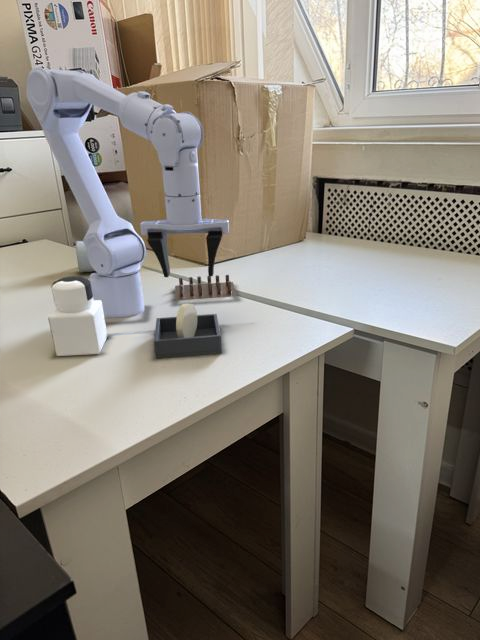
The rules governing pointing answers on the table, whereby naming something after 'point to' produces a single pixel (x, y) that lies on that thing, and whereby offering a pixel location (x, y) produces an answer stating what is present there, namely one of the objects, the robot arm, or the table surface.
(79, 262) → the ceramic mug
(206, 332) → the dark grey open box
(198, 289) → the dish rack
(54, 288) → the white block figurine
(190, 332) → the saucer
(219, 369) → the table surface
